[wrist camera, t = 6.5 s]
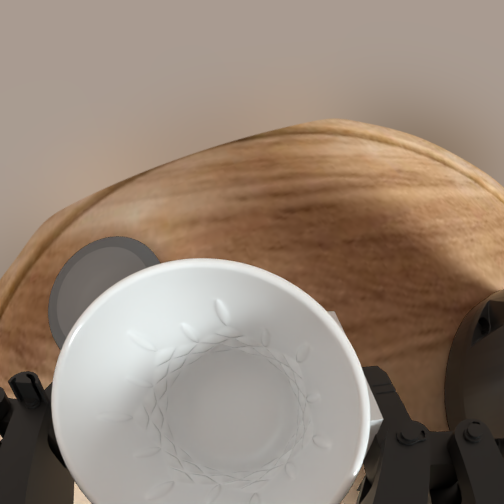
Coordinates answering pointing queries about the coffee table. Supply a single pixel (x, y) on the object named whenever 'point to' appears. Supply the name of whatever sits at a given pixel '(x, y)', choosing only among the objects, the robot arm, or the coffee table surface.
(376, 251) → the coffee table surface
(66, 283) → the coaster
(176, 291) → the white cup
